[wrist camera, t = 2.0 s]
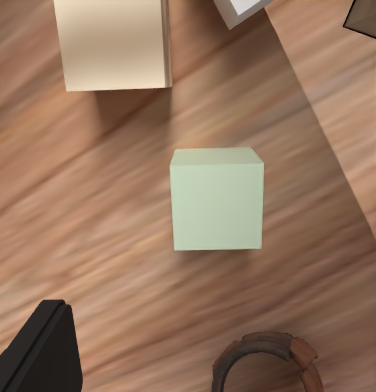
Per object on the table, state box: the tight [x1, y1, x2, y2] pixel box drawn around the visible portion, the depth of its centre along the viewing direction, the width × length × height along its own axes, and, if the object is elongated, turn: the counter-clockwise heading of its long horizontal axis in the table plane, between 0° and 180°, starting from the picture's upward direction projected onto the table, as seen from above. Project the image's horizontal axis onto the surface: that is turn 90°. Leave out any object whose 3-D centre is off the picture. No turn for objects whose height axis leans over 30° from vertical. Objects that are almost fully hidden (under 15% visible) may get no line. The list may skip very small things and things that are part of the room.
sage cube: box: [170, 147, 264, 250], centre depth 22 cm, size 5×5×5 cm
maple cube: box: [54, 0, 172, 91], centre depth 19 cm, size 5×5×5 cm
